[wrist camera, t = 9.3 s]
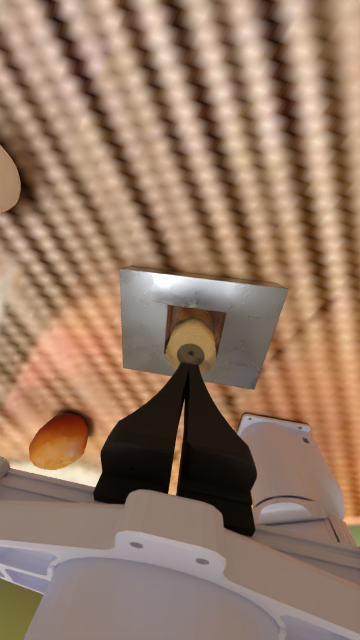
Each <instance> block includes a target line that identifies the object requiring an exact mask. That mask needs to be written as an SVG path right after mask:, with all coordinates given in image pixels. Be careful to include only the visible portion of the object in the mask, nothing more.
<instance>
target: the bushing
mask: <svg viewBox="0 0 360 640" xmlns="http://www.w3.org/2000/svg"><path fill="white" fill-rule="evenodd" d="M166 358H167V361H168V363H169V365H170V366H171V367H172V368H173V369H174V370H175V371H176V370H177V368H178V366H179V364H180V363H181V362H185V363H191V364H197V365H199V369H200V373H201V375H202V374H204V373H206V372H208V371H209V370H210V369H211V368H212V367H213V365H214V364H215V361H216V347H215V339H214V331H213V322H212V318H211V316H210V314H209V313H208V312H207V311H206V310H204V309H196V308H187V309H185V310H183V311H182V312H181V313H180V314H179V316H178V318H177V321H176V324H175V326H174V329H173V332H172V334H171V337H170V340H169V342H168V345H167V348H166Z"/></svg>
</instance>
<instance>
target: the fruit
mask: <svg viewBox="0 0 360 640" xmlns="http://www.w3.org/2000/svg"><path fill="white" fill-rule="evenodd" d="M87 439H88V429H87V426H86V423H85V421H84V419H83V418H82V417H80V416H79V415H76V414H73V413H61V412H59V413H58V414H57V415H56V416H55V417H54V418H52V419H51V420H50V421H49V422H48V423H46V424H45V425H44V426H43V427H42V428H41V429H40V430H39V431H38V432H37V434H36V435H35V437H34V439H33V441H32V442H31V444H30V447H29V453H30V460H31V461H32V462H33V464H34V465H35V466H37V467H39V468H41V469H48V470H57V469H60V468H64V467H66V466H68V465H70V464H72V463H74V462H75V461H76V460H78V459H79V458H80V457H81V456H82V455H83V453H84V450H85V448H86V444H87Z"/></svg>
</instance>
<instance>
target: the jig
mask: <svg viewBox="0 0 360 640" xmlns="http://www.w3.org/2000/svg"><path fill="white" fill-rule="evenodd" d="M288 290H289V289H287V288H285V287H283V286H281V285H279V284H277V283H270V282H262V281H253V280H245V279H236V278H228V277H220V276H211V275H203V274H194V273H186V272H177V271H169V270H161V269H152V268H144V267H135V266H129V267H125V268H121V269H120V292H121V321H122V349H123V368H126V369H132V370H138V371H144V372H150V373H156V374H162V375H168V376H173V374H174V373H175V370H174V369H173V368H172V367H171V366H170V365H169V363H168V361H167V358H166V348H167V345H168V342H169V332H170V320H171V308H172V305H174V306H181V307H189V308H196V309H204V310H211V311H219V312H222V314H221V319H220V323H219V328H218V333H217V338H216V343H215V347H216V361H215V364H214V365H213V367H212V368H211V369H210V370H209V371H208V372H206V373H204V374H202V375H201V376H202V379H203V381H205V382H211V383H217V384H223V385H229V386H235V387H241V388H247V389H253V390H254V388H255V386H256V383H257V380H258V377H259V374H260V371H261V368H262V365H263V362H264V359H265V357H266V354H267V351H268V348H269V345H270V342H271V339H272V336H273V333H274V330H275V328H276V325H277V322H278V319H279V316H280V313H281V310H282V307H283V304H284V301H285V299H286V296H287V293H288Z"/></svg>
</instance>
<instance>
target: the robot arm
mask: <svg viewBox="0 0 360 640" xmlns="http://www.w3.org/2000/svg"><path fill="white" fill-rule="evenodd" d="M184 399H185V407H184V433H183V442H182V451H181V459H180V468H179V476H178V485H177V493H176V496H174V495H170V494H168V491H169V484H170V477H171V470H172V463H173V456H174V449H175V442H176V435H177V430H178V425H179V421H180V416H181V412H182V408H183V403H184ZM310 430H311V427H310V426H309V425H307V424H302V423H296V422H290V421H285V420H279V419H273V418H268V417H262V416H256V415H251V414H244V415H243V416H242V419H241V422H240V425H239V428H238V431H237V433H236V432H235V431H234V430H233V429H232V428H231V426H230V425H229V424H228V422H227V421H226V420H225V418H224V417H223V416H222V414H221V413H220V412H219V410H218V408H217V407H216V405H215V404H214V402H213V400H212V398H211V397H210V395H209V393H208V391H207V388H206V386H205V384H204V381H203V379H202V376H201V373H200V369H199V365H197V364H191V363H185V362H181V363H180V364H179V366H178V368H177V370H176V371H175V373H174V374H173V376H172V377H171V379H170V380H169V381H168V382H167V384H166V385H165V386H164V387H163V388H162V389H161V390H160V391H159V392H158V393H157V394H156V395H155V396H154V397H153V398H152V399H151V400H150V401H148V402H147V403H146V404H145V405H143V406H142V407H140V408H139V409H138V410H136V411H135V412H133V413H132V414H130V415H128V416H127V417H125V418H123V419H122V420H120V421H119V422H118V423H117V424H116V426H115V427H114V429H113V430H112V432H111V433H110V435H109V436H108V438H107V440H106V442H105V444H104V446H103V448H102V450H101V464H102V474H101V476H100V479H99V481H98V483H97V485H96V487H92V486H87V485H83V484H78V483H74V482H69V481H65V480H60V479H56V478H52V477H47V476H43V475H38V474H34V473H29V472H25V471H20V470H16V469H12V468H10V465H9V462H8V461H7V460H6V459H5V458H3V457H1V456H0V578H1V579H4V580H7V581H9V582H12V583H15V584H17V585H20V586H23V587H25V588H28V589H31V590H33V591H36V592H39V593H41V594H44V596H43V598H42V600H41V602H40V604H39V607H38V609H37V611H36V613H35V615H34V617H33V620H32V622H31V624H30V626H29V628H28V631H27V633H26V635H25V637H24V639H23V640H360V547H358V546H357V544H356V542H355V540H354V538H353V536H352V534H351V532H350V531H349V529H348V527H347V525H346V523H345V522H344V521H343V518H344V513H345V507H344V501H343V497H342V493H341V490H340V487H339V485H338V483H337V480H336V478H335V477H334V475H333V473H332V471H331V470H330V468H329V466H328V464H327V463H326V461H325V459H324V457H323V456H322V454H321V452H320V450H319V449H318V447H317V445H316V443H315V442H314V440H313V438H312V436H311V435H310V433H309V432H310ZM251 505H253V509H252V507H251Z"/></svg>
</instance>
